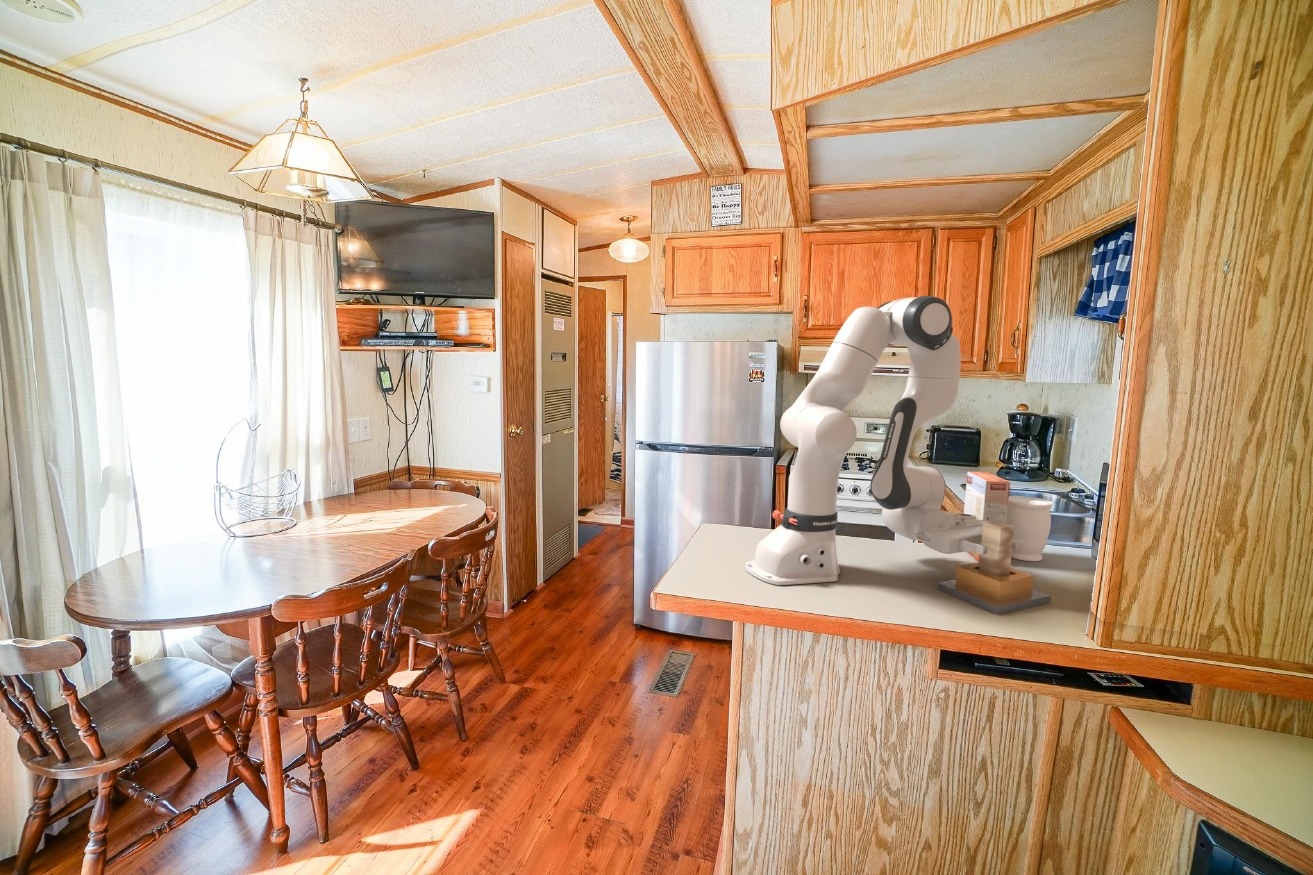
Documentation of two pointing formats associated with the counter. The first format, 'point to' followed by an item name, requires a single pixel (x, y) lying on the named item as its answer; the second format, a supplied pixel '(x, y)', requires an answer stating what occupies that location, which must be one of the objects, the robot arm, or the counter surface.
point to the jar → (1029, 526)
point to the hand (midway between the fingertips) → (1000, 548)
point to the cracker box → (986, 498)
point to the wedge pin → (997, 548)
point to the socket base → (994, 589)
